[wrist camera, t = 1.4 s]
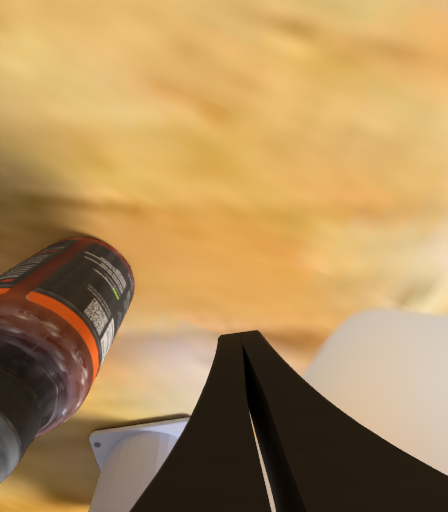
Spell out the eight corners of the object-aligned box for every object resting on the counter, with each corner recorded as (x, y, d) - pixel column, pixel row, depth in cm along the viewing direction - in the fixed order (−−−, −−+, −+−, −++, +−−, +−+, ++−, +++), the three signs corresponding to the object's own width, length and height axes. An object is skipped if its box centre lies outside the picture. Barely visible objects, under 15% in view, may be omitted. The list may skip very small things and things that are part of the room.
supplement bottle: (22, 289, 18) (-234, 473, 8) (70, 214, 17) (-154, 308, 6) (106, 336, 20) (-8, 546, 9) (155, 271, 18) (93, 424, 8)
